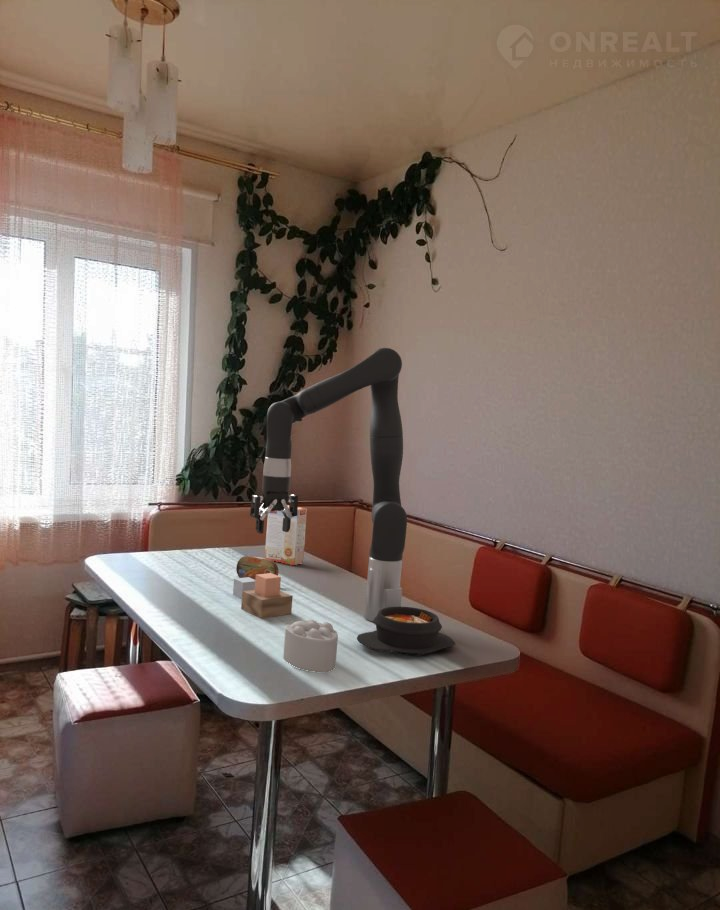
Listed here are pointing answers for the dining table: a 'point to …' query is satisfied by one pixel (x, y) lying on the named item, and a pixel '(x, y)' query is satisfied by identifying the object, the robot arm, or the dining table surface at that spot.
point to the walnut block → (266, 604)
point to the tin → (255, 567)
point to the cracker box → (286, 538)
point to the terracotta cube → (267, 584)
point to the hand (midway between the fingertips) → (272, 532)
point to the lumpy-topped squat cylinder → (311, 646)
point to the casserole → (406, 632)
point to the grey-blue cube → (243, 586)
